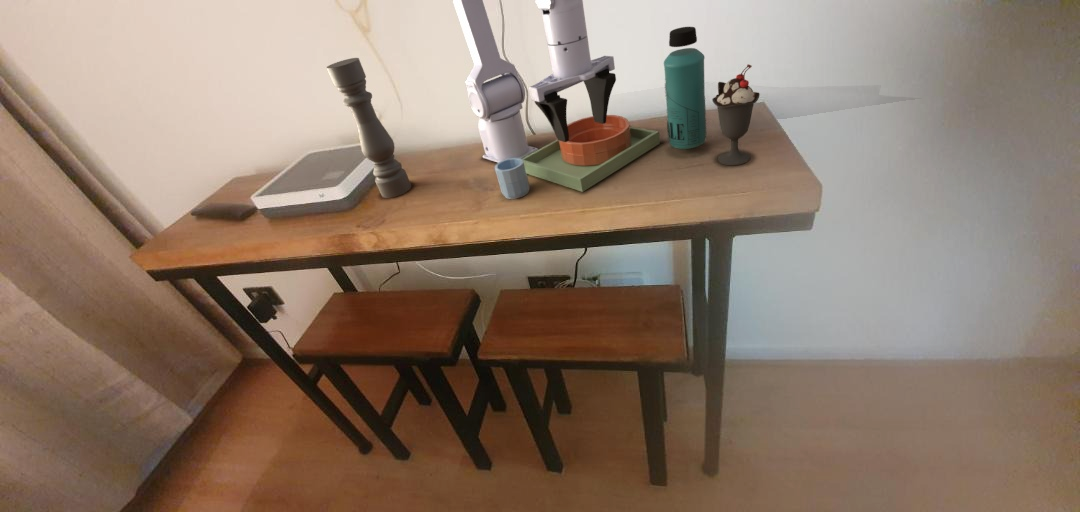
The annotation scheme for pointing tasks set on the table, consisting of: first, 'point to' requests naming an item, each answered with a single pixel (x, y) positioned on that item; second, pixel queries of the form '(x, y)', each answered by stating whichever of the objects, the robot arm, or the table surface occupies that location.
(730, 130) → the sundae
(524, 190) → the pale blue cup
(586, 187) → the tray
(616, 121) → the big bowl
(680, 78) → the beverage bottle
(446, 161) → the table surface
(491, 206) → the table surface
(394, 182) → the candle holder
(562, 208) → the table surface
